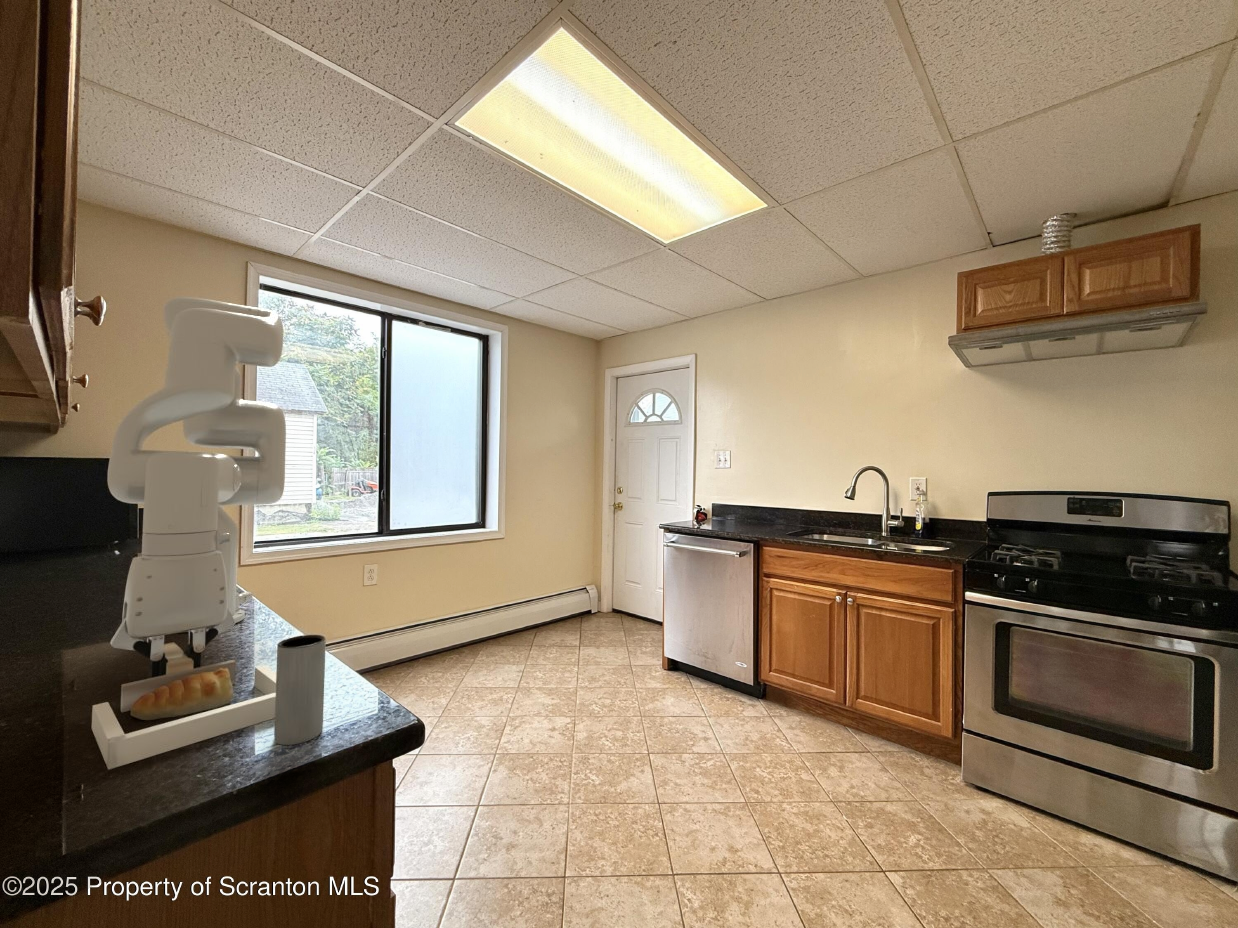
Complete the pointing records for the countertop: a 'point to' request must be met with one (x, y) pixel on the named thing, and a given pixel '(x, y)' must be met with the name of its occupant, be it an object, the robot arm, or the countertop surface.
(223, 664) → the dough scraper
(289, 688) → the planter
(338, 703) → the countertop surface
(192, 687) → the pastry
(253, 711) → the frame
